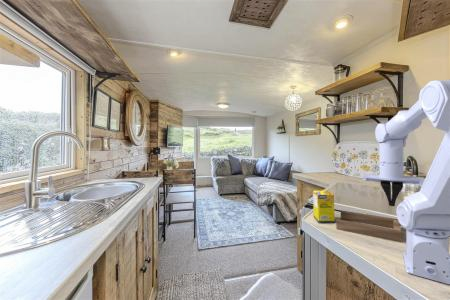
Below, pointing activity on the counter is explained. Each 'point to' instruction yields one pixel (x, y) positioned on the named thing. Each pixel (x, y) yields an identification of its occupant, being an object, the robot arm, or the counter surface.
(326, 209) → the supplement box
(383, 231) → the brown wooden tray
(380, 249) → the counter surface
